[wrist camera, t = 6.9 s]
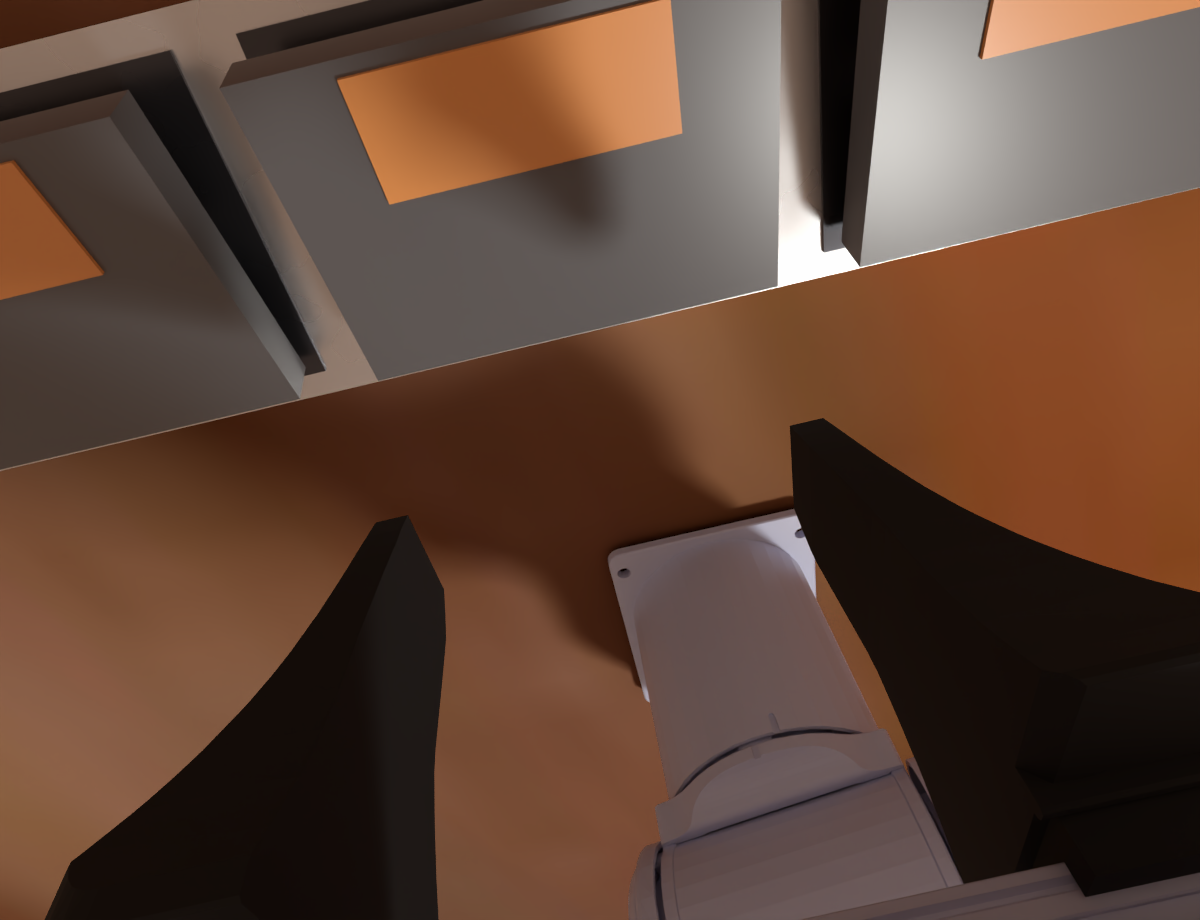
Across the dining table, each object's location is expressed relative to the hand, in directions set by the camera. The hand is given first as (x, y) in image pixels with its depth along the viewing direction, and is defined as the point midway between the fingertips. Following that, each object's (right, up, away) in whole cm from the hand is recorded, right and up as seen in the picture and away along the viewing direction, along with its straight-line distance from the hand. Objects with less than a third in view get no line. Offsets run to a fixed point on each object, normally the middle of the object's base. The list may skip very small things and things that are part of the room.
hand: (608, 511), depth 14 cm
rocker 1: (-13, +4, +3) cm, 14 cm away
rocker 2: (-2, +7, +2) cm, 8 cm away
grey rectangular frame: (+10, +10, +2) cm, 14 cm away
